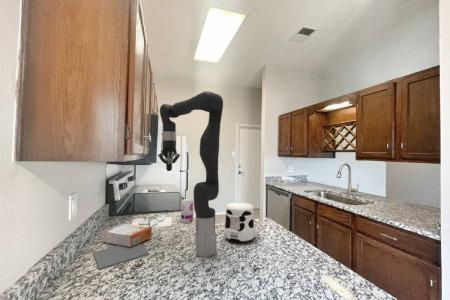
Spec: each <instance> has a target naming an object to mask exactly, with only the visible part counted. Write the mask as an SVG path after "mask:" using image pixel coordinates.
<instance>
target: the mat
mask: <svg viewBox="0 0 450 300" xmlns="http://www.w3.org/2000/svg"><path fill="white" fill-rule="evenodd" d="M92 253H93V257H94V260H95V263H96V266H97V268H98V270H99V271H100V270H103V269H107V268H110V267H113V266H116V265H120V264H123V263H125V262H126V263H127V262H129V261H134V260H136V259H139V258H143V257H146V256H149V255H150V252H149V251H148V250H147V249H146V248H145V247H144V245H143V244H141V243H139V244H137V245H134V246H132V247H128V246H122V245H115V246H112V247H108V248H107V247H106V248H103V249H100V250H95V251H93V252H92Z"/></svg>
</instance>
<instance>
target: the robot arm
mask: <svg viewBox="0 0 450 300" xmlns="http://www.w3.org/2000/svg"><path fill="white" fill-rule="evenodd" d="M223 108H224V99H223V97H222V95H220V94H218V93H215V92H212V91H207V90H204V91H202V92H200V93H198V94H197V95H195V96H193V97H190V98H188V99H185V100H182V101H181V100H180V101H178V102H175V103H173V104H168V103H162V104H161V105H160V108H159V114H160V118H161V119H160V120H161V122H162V138H161V141H162V145H161V147H162V148H161V149H162V150H161V152H160V153H157V157H158V158H159V159H160V161H161V162H162V163H163V164H165V168H166V169H165V170H166V171H167V172H171V171H172V170H173V164H176V162H177V161H178V160H179V158H180V156H181V154H179V153H178V150H177V133H176V132H177V128H176V126H177V125H176V124H177V123H176V122H174V121H172V120H171V118H172V119H176V118H179V117H181V116H184V115H189V114H190V113H192V112H193V111H204V112H206V113H208V121H207V126H206V128H205V129H204V131H203V133H202V135H201V136H200V140H199V156H200V159H201V161H202V162H201V163H202V164H203V167H204V168H205V181H200V182H197V183H196V184H195V185H194V187H193V211H194V212H195V255H196V256H198V257H199V258H200V257H201V258H204V259H207V258H210V257H213V256H215V255H217V233H216V210H215V208H213V207H210V205H209V201H214V200H216V199H217V198H218V196H219V192H220V187H219V185H220V184H219V154H220V138H221V137H220V135H221V122H222V121H221V120H222V115H223V110H224V109H223Z"/></svg>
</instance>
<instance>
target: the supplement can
mask: <svg viewBox="0 0 450 300" xmlns="http://www.w3.org/2000/svg"><path fill="white" fill-rule="evenodd" d="M193 221H194V199H193V198H184V199H182V200H181V202H180V222H181V223H182V224H191V223H193Z"/></svg>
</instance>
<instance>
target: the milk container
mask: <svg viewBox="0 0 450 300" xmlns="http://www.w3.org/2000/svg"><path fill="white" fill-rule="evenodd" d="M254 209H255V208H254V204H252V203H249V202H241V201H240V202H239V201H238V202H235V201H234V202H230V203H227V204H226V205H225V221H224V222H225V223H224V227H223V232H224V233H223V234H224V236H225V238H226V239H227V240H229V241H232V242H234V243H247V242H250V241H252V240H253V239H255V236H256V230H257V229H256V225H255V219H254V218H255V212H254V211H255V210H254Z"/></svg>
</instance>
